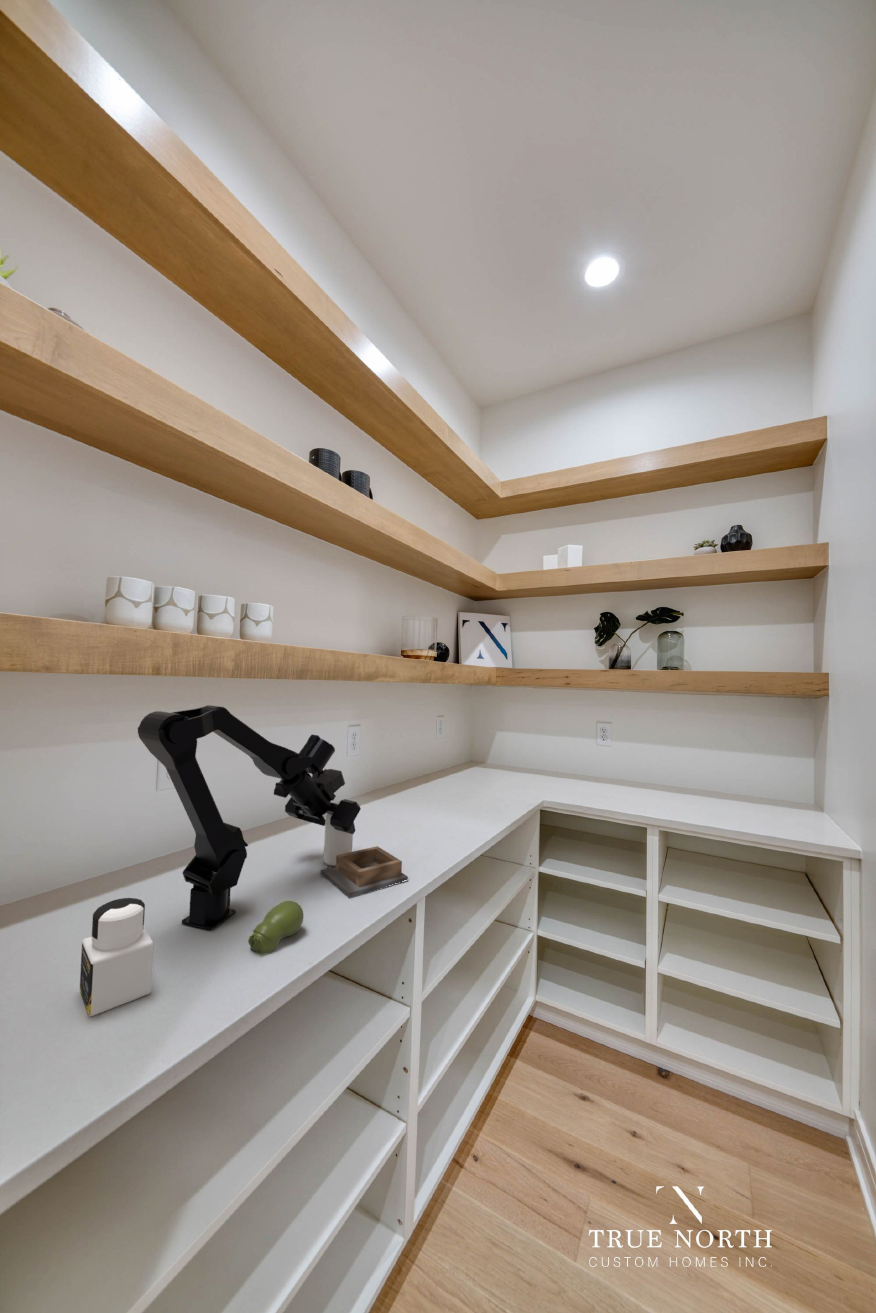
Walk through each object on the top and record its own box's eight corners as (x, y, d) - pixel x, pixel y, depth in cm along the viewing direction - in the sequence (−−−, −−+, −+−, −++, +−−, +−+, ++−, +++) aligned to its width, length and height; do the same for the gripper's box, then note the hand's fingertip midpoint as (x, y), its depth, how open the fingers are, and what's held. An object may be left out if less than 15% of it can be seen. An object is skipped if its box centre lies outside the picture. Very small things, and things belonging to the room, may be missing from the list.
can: (348, 867, 111) (350, 814, 111) (320, 866, 111) (322, 813, 111) (354, 856, 117) (356, 806, 118) (327, 855, 118) (329, 805, 118)
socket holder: (349, 898, 97) (349, 877, 97) (321, 874, 107) (322, 855, 107) (407, 881, 105) (408, 862, 105) (376, 860, 115) (377, 843, 115)
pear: (309, 899, 84) (264, 936, 75) (311, 927, 85) (267, 967, 76) (285, 891, 87) (239, 926, 78) (287, 918, 87) (242, 956, 79)
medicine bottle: (79, 990, 67) (83, 902, 68) (138, 969, 72) (142, 887, 72) (88, 1018, 62) (93, 923, 62) (151, 993, 67) (156, 905, 67)
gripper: (356, 765, 105) (386, 805, 114) (296, 754, 115) (328, 791, 124) (328, 811, 98) (363, 849, 107) (267, 795, 108) (303, 831, 117)
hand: (339, 828), depth 114 cm, fingers open, 9 cm apart
